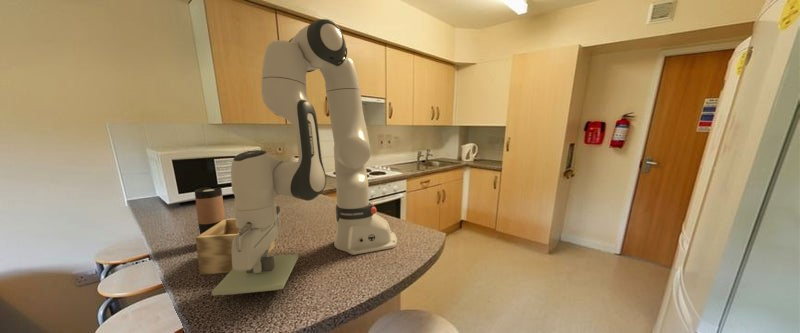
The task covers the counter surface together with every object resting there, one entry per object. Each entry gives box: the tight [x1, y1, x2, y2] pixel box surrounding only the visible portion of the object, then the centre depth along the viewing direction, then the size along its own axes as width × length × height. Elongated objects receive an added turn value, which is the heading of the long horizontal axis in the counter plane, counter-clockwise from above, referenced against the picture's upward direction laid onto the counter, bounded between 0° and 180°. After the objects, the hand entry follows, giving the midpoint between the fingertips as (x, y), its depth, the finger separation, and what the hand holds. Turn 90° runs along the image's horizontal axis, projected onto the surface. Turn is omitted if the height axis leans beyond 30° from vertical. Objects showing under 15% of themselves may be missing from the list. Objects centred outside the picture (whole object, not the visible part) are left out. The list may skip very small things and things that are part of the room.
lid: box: [211, 253, 300, 296], centre depth 64 cm, size 15×15×5 cm
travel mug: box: [194, 186, 226, 235], centre depth 88 cm, size 8×8×20 cm
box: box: [194, 217, 276, 276], centre depth 77 cm, size 15×15×11 cm
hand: (261, 267), depth 64 cm, fingers closed on lid
